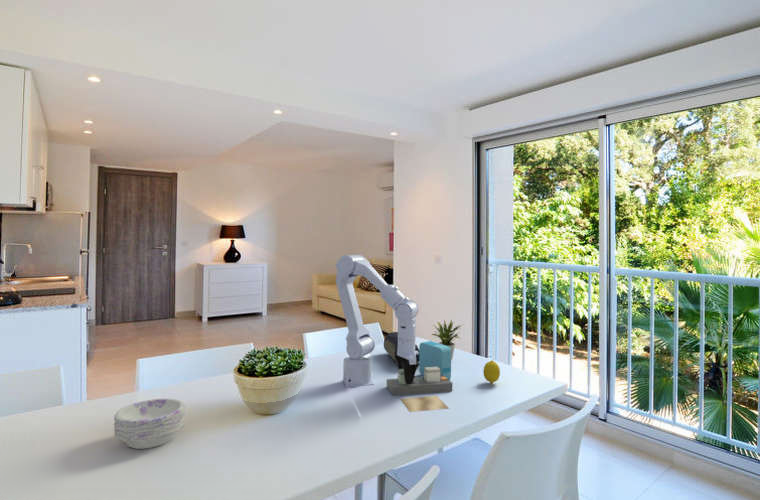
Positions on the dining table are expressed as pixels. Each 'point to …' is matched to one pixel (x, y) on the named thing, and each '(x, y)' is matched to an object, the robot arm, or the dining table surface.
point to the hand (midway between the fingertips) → (406, 380)
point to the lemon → (491, 371)
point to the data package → (435, 357)
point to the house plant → (447, 335)
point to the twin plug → (431, 374)
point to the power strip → (419, 386)
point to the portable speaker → (395, 345)
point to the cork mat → (423, 403)
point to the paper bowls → (149, 422)
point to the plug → (401, 377)
